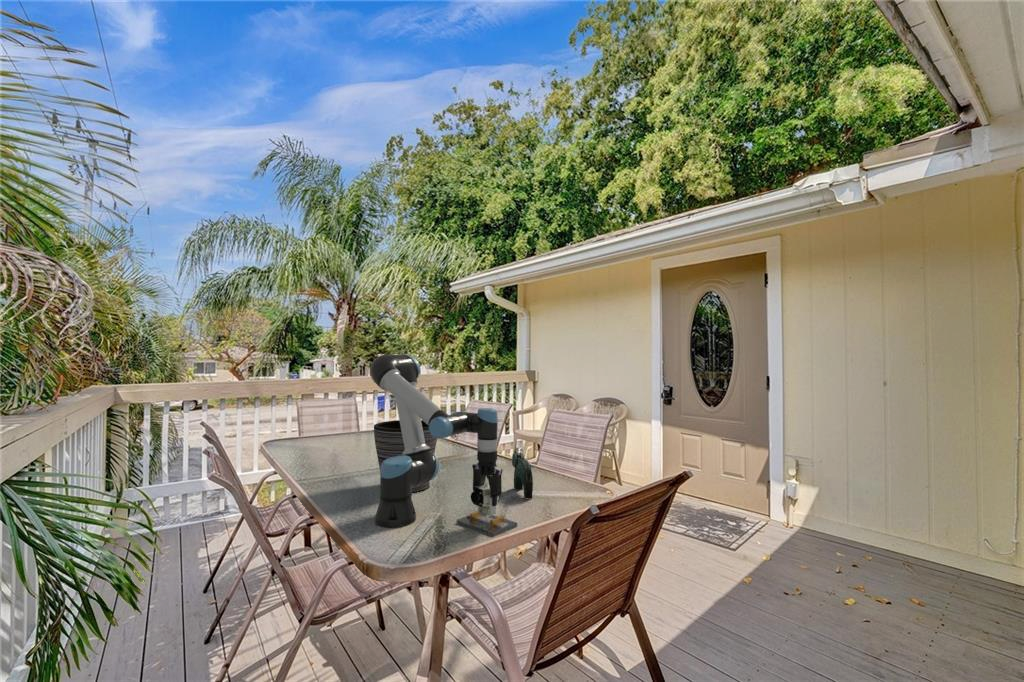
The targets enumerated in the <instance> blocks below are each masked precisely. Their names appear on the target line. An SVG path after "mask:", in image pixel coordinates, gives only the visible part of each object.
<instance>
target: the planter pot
mask: <svg viewBox="0 0 1024 682" xmlns="http://www.w3.org/2000/svg"><path fill="white" fill-rule="evenodd" d="M421 423H422V428H423V433H424V438H425V444H426V445H427V446H429V447H430V450H431V452H432V453H434V454H435V452H436V448H437V442H438V438H435V437H433V436H432V435H431V433H430V431H429V425H427V424H426V423H425V422H424V421H423V420H422V419H421ZM373 436H374V444H375V451H376V455H377V456H376V457H377V461H378V467H379V472H380V471H381V464H382V462H383V461H384V460H386V459H387V458H390V457H393V456H399V455H402V453H403V452H404V450H405V447H404V442H403V437H402V431H401V426H400V421H399V419H397V420H388V421H382V422H377V423H375V424H374V425H373ZM430 481H431V480H430ZM430 481H429V482H427V483H424V484H420V485H418V486H415V487H413V488H412V493H414V494H418V493H417V492H419V493H422V492H425V491H427V490H428V489H429V488H430V484H431V483H430ZM426 489H427V490H426ZM424 490H425V491H424ZM421 491H422V492H421Z"/></svg>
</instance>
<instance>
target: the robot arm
mask: <svg viewBox="0 0 1024 682" xmlns="http://www.w3.org/2000/svg"><path fill="white" fill-rule="evenodd" d="M369 374H370V377H371V380H372V381H373V382H374V383H375V385H377V386H378V387H379V388H380V389H381V390H382V391H387V392H389V393H390V394H391V395H392V396H393V397H394V400H395V404H396V408H397V409H396V410H397V415H398V420H399V421H400V426H401V431H402V437H403V442H404V447H405V450H404V452H403V453H402V455H399V456H393V457H390V458H387V459H386V460H384V461H383V462H382V464H381V471H380V470H379V475H380V477H379V480H380V481H379V482H380V483H379V485H380V486H379V487H380V488H379V490H380V491H379V493H380V494H379V495H380V496H379V503H378V506H377V509H376V513H375V517H374V523H375V524H376V525H377V526H379V525H380V527H382V526H384V527H383V528H399V527H404V526H408V525H411V524H412V523H414V522H415V521H416V519H417V512H416V509H415V505H414V503H413V499H412V494H411V493H412V488H413V487H415V486H418V485H420V484H424V483H427V482H429V481H432V480H434V479H435V478H436V476H437V475H438V473H439V470H440V461H439V459H438V456H437V455H435V453H432V452H431V450H430V447H429V446H427V445H426V444H425V438H424V433H423V428H422V423H421V420H423V421H424V422H425V423H426V424H427V425H429V431H430V433H431V435H432V436H433V437H435V438H437V439H445V438H446V439H447V438H449V437H451V436H456V435H460V434H464V433H471V434H477V435H476V436H477V442H476V444H477V448H476V449H477V451H476V453H477V454H476V457H477V458H476V459H477V462H476V463H473V464H472V471H473V472H472V474H473V475H472V488H473V487H477V486H481V485H485V482H486V479H487V480H488V484H489V487H490V492H491V496H490V497H489V505H488V506H489V515H496V513H497V512H496V511H497V504H498V502H497V497H498V496H500V497H501V496H502V492H503V491H502V487H503V486H502V474H503V468H499V467H498V466H497V460H498V451H497V449H498V422H499V420H498V411H497V409H496V408H491V407H490V408H487V407H482V408H481V407H480V408H478V410H477V412H475V413H474V412H466V411H454V412H452V413H451V414H448V413H447V412H446V411H444V410H443V409H442V408H441V407H439V406H438V404H435V402H433V401H432V400H431V399H430V398H428V397H427V396H426V395H424V394H423V393H422V392H421V391H420V390H419V389H418V388H416V386H417V385H418V379H419V377H420V374H421V365H420V362H419V361H418V360H417V359H416V358H415V357H414V356H412V355H410V354H404V353H403V354H381V355H379V356H377V357H375V358H374V360H373V361H372V362H371V364H370V368H369ZM494 493H495V494H494ZM479 510H480V506H477V511H478V512H479Z"/></svg>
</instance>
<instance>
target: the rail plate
mask: <svg viewBox="0 0 1024 682" xmlns="http://www.w3.org/2000/svg"><path fill="white" fill-rule="evenodd" d="M457 523H458V525H460V524H461V526H463V525H464V526H463V527H467V528H469V529H471V528H472V530H474V529H475V531H477V530H478V531H477V532H480V531H481V532H480V533H483V532H484V533H483V534H485V533H486V535H488V534H489V535H488V536H491V535H492V536H491V537H495V535H496V536H498V535H500V534H502V532H503V533H505V532H506V530H507V531H509V529H510V530H512V529H514V528H517V527H518V522H516V521H512V520H510V519H506V518H505V516H497V515H495V514H493V515H491V516H488V517H484V516H480V514H479V512H478V510H476V511H473V512H470V513H469V514H466V516H464V517H461V518H459V519H456V524H457ZM511 528H512V529H511ZM504 531H505V532H504ZM499 533H500V534H499ZM497 534H498V535H497Z"/></svg>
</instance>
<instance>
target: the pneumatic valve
mask: <svg viewBox="0 0 1024 682" xmlns="http://www.w3.org/2000/svg"><path fill="white" fill-rule="evenodd" d="M494 494H495V493H494ZM490 496H491V492H490V487H489V482H486V483H484V485H481V486H477V487H473V486H472V492H471V494H470V501H471V502H472V504H473V505H475V506H477V507H478V506H480V510H479V514H480V516H484V517H488V516H491V515H489V497H490ZM500 500H501V496H498V497H497V503H499V502H500Z"/></svg>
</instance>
